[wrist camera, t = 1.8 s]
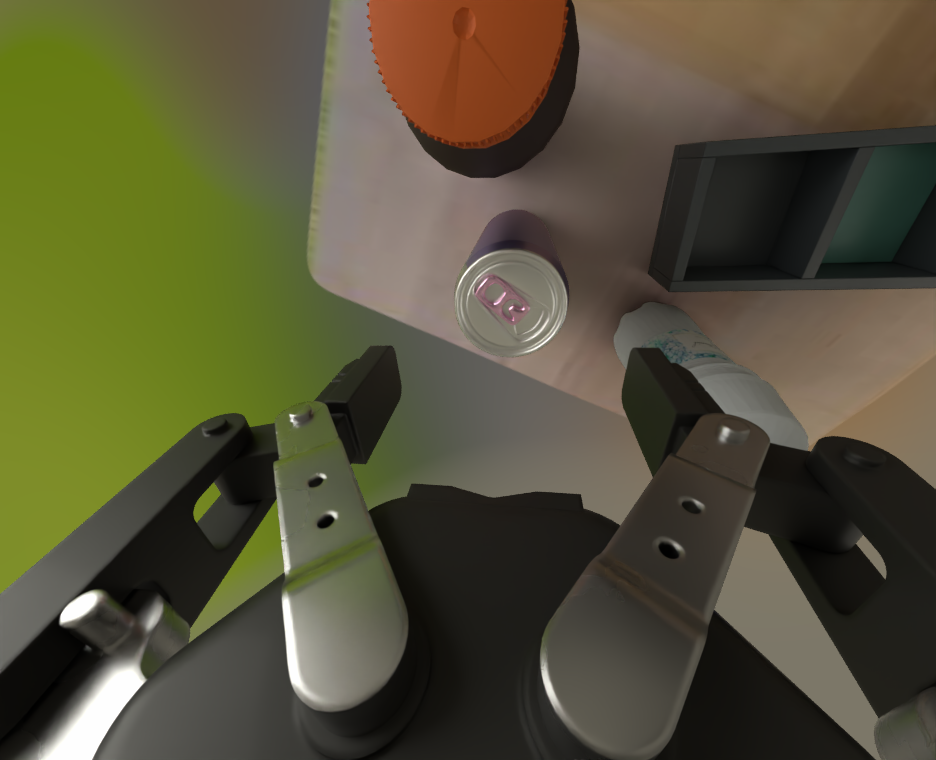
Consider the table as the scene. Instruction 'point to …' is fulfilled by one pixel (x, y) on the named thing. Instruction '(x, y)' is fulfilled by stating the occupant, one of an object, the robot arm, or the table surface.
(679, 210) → the divided tray
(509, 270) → the beverage can
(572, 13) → the vinegar
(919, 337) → the table surface
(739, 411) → the bottle
